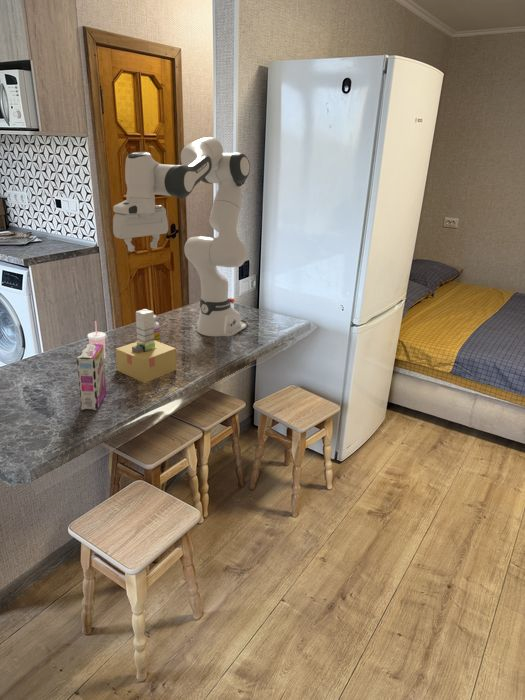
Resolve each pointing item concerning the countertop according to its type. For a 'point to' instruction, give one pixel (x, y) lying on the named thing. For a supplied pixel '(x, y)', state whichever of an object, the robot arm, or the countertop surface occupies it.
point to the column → (145, 329)
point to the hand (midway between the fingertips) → (142, 249)
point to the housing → (146, 361)
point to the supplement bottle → (156, 330)
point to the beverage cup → (97, 338)
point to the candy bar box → (91, 376)
